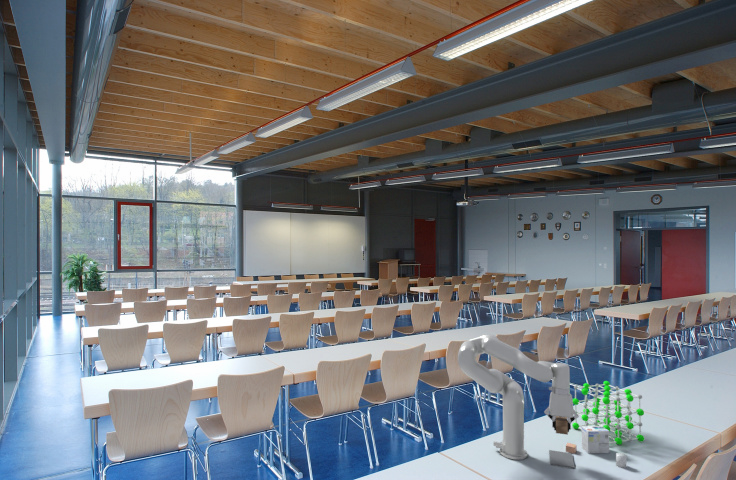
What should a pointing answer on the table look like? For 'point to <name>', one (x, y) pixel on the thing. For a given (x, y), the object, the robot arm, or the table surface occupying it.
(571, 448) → the peach cube
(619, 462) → the grey plastic cylinder
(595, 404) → the molecular structure model
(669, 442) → the table surface
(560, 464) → the mat
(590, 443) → the light bulb box
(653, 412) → the table surface
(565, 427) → the walnut block
